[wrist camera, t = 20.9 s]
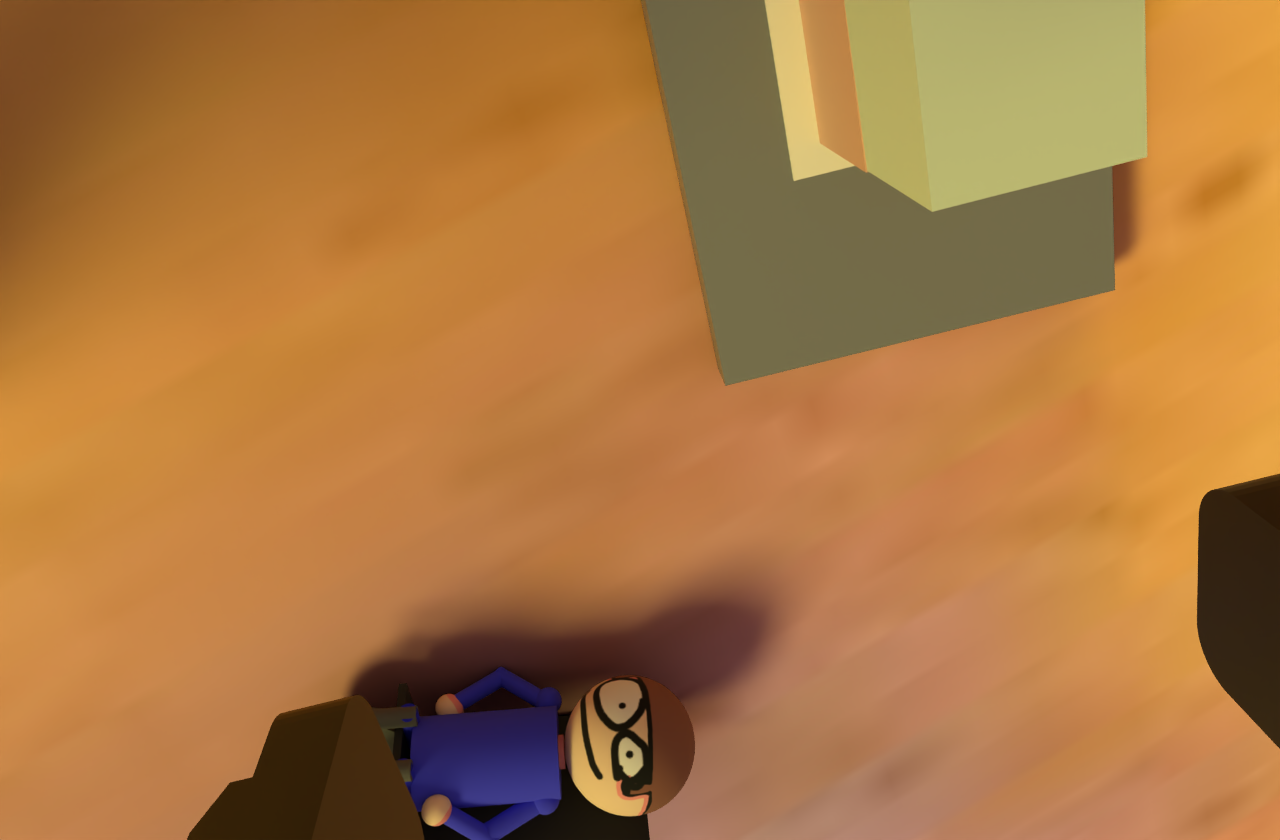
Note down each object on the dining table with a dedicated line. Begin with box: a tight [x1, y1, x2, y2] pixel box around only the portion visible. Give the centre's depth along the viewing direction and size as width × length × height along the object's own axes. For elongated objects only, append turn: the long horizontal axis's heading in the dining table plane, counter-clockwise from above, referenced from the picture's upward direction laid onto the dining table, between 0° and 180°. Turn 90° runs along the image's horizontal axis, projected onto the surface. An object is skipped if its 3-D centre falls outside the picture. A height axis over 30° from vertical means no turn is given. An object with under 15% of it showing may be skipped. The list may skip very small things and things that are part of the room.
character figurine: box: [371, 667, 695, 840], centre depth 39 cm, size 8×7×15 cm
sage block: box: [844, 0, 1147, 212], centre depth 24 cm, size 5×5×5 cm
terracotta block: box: [799, 0, 868, 173], centre depth 28 cm, size 5×5×5 cm
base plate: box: [641, 0, 1115, 386], centre depth 31 cm, size 14×20×2 cm
